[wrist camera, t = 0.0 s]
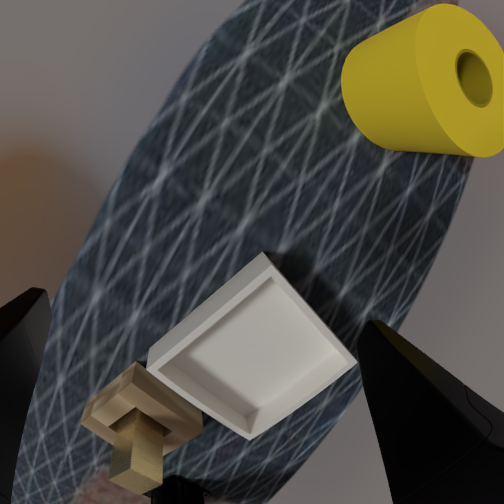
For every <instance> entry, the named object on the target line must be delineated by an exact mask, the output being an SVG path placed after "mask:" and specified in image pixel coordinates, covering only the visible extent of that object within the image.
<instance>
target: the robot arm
mask: <svg viewBox="0 0 504 504" xmlns="http://www.w3.org/2000/svg"><path fill="white" fill-rule="evenodd" d="M51 318H52V313H51V308H50V304H49V299H48V294H47V291H46V290H45V289H42V288H36V287H32V288H30V289H28V290H27V291H25V292H24V293H22V294H21V295H19V296H18V297H16V298H15V299H13V300H12V301H10V302H8V303H7V304H6V305H4V306H3V307H1V308H0V504H11V496H12V488H13V481H14V475H15V469H16V463H17V458H18V453H19V448H20V443H21V438H22V434H23V429H24V425H25V421H26V417H27V413H28V409H29V405H30V402H31V398H32V395H33V391H34V388H35V384H36V381H37V378H38V374H39V371H40V367H41V363H42V358H43V353H44V349H45V344H46V340H47V336H48V332H49V328H50V324H51ZM356 351H357V356H358V361H359V367H360V372H361V377H362V383H363V387H364V392H365V395H366V399H367V402H368V406H369V410H370V413H371V417H372V421H373V424H374V428H375V432H376V435H377V439H378V443H379V447H380V451H381V455H382V459H383V463H384V467H385V471H386V475H387V479H388V483H389V488H390V492H391V497H392V501H393V504H504V412H502V411H501V410H499V409H498V408H496V407H495V406H493V405H492V404H490V403H489V402H488V401H486V400H485V399H483V398H482V397H481V396H479V395H478V394H477V393H475V392H474V391H473V390H471V389H470V388H469V387H468V386H466V385H464V384H463V383H462V382H461V381H460V380H458V379H457V378H456V377H454V376H453V375H452V374H451V373H449V372H448V371H447V370H445V369H444V368H443V367H442V366H440V365H439V364H438V363H436V362H435V361H434V360H432V359H431V358H430V357H428V356H427V355H426V354H425V353H423V352H422V351H421V350H419V349H418V348H417V347H415V346H414V345H413V344H411V343H410V342H409V341H407V340H406V339H405V338H403V337H402V336H401V335H399V334H398V333H397V332H395V331H394V330H393V329H391V328H390V327H389V326H387V325H386V324H385V323H383V322H382V321H380V320H368V321H367V322H366V323H365V325H364V327H363V329H362V330H361V332H360V334H359V336H358V338H357V340H356ZM143 495H145V496H147V497H149V498H151V504H204V498H206V497H209V496H210V492H209V491H206V490H204V489H202V488H199V487H197V486H195V485H193V484H190V483H188V482H186V481H184V480H182V479H180V478H178V477H175V476H170V477H168V478H166V479H164V480H162V485H160V486H158V487H156V488H154V489H152V490H150V491H148V492H145V493H143Z"/></svg>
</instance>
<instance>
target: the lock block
mask: <svg viewBox="0 0 504 504" xmlns="http://www.w3.org/2000/svg"><path fill="white" fill-rule="evenodd" d="M135 407H136V408H138V409H139V410H141V411H142V412H144V413H145V414H147V415H148V416H150V417H151V418H153V419H154V420H156V421H157V422H159V423H160V424H162V425H163V426H164V428H163V456H164V455H166V454H167V453H169V452H171V451H173V450H174V449H176V448H178V447H179V446H181V445H183V444H184V443H186V442H188V441H189V440H191V439H193V438H194V437H196V436H197V435H199V434H201V433H202V432H203V422H202V410H201V409H199V408H198V407H196V406H195V405H193V404H192V403H190V402H189V401H188V400H186V399H185V398H183V397H182V396H180V395H179V394H178V393H176V392H175V391H174V390H172V389H171V388H169V387H168V386H167V385H165V384H164V383H163V382H161V381H160V380H159V379H157V378H156V377H155V376H153V375H152V374H151V373H150V372H148V371H147V370H146V369H145V368H144V367H143V366H142V365H140V364H139V363H138V362H137V361H135V362H134V363H133V364H132V365H131V366H130V367H128V368H127V369H126V370H125V371H124V372H122V373H121V374H120V375H119V376H118V377H117V378H115V379H114V380H113V381H112V382H111V383H109V384H108V385H107V386H106V387H105V388H103V389H102V390H101V391H100V392H99V393H97V394H96V395H95V396H94V397H93V398H92V399H90V400H89V401H88V402H87V403H86V406H85V410H84V413H83V416H82V419H81V423H80V424H82V425H83V426H85V427H86V428H88V429H89V430H91V431H92V432H94V433H95V434H97V435H98V436H100V437H101V438H103V439H104V440H106V441H107V442H109V443H111V444H112V445H114V440H115V435H116V429H117V424H118V419H119V418H121V417H122V416H124V415H125V414H126V413H128V412H129V411H130V410H132V409H133V408H135Z"/></svg>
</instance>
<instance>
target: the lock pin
mask: <svg viewBox="0 0 504 504" xmlns="http://www.w3.org/2000/svg"><path fill="white" fill-rule="evenodd" d="M163 428H164V426H163V425H162V424H160V423H159V422H157V421H156V420H154V419H153V418H151V417H150V416H148V415H147V414H145V413H144V412H142V411H141V410H139V409H138V408H136V407H135V408H133V409H132V410H130V411H129V412H128V413H126V414H125V415H124V416H122V417H121V418H119V419H118V424H117V429H116V435H115V440H114V446H113V452H112V458H111V465H110V471H109V478H108V480H110V481H111V482H113V483H115V484H117V485H119V486H121V487H123V488H125V489H127V490H129V491H131V492H133V493H136V494H138V495H141V494H143V493H145V492H148V491H150V490H152V489H154V488H156V487H158V486H160V485H162V475H163Z"/></svg>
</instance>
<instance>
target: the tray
mask: <svg viewBox="0 0 504 504" xmlns="http://www.w3.org/2000/svg"><path fill="white" fill-rule="evenodd" d="M356 363H357V361H356V359H355V358H354V357H353V356H352V354H351V353H350V352H349V350H348V349H347V348H346V347H345V345H344V344H343V343H342V342H341V341H340V339H339V338H338V337H337V336H336V335H335V334H334V333H333V331H332V330H331V329H330V328H329V327H328V326H327V324H326V323H325V322H324V321H323V320H322V319H321V318H320V316H319V315H318V314H317V313H316V312H315V311H314V310H313V308H312V307H311V306H310V305H309V304H308V303H307V302H306V300H305V299H304V298H303V297H302V296H301V295H300V294H299V292H298V291H297V290H296V289H295V288H294V287H293V286H292V284H291V283H290V282H289V281H288V280H287V279H286V278H285V276H284V275H283V274H282V273H281V272H280V271H279V270H278V269H277V267H276V266H275V265H274V264H273V263H272V262H271V261H270V259H269V258H268V257H267V256H266V255H265V254H264V253H263V252H261V253H260V254H259V255H258V256H257V257H256V258H254V259H253V260H252V261H251V262H250V263H249V264H247V265H246V266H245V267H244V268H243V269H242V270H240V271H239V272H238V273H237V274H236V275H235V276H233V277H232V278H231V279H230V280H229V281H228V282H226V283H225V284H224V285H223V286H222V287H221V288H219V289H218V290H217V291H216V292H215V293H214V294H212V295H211V296H210V297H209V298H208V299H207V300H205V301H204V302H203V303H202V304H201V305H200V306H198V307H197V308H196V309H195V310H194V311H193V312H191V313H190V314H189V315H188V316H187V317H186V318H184V319H183V320H182V321H181V322H180V323H178V324H177V325H176V326H175V327H174V328H173V329H171V330H170V331H169V332H168V333H167V334H166V335H164V336H163V337H162V338H161V339H160V340H159V341H157V342H156V343H155V344H154V345H153V346H151V347H150V348H149V354H148V360H147V366H146V370H147V371H148V372H150V373H151V374H152V375H153V376H155V377H156V378H157V379H159V380H160V381H161V382H163V383H164V384H165V385H167V386H168V387H169V388H171V389H172V390H174V391H175V392H176V393H178V394H179V395H180V396H182V397H183V398H185V399H186V400H188V401H189V402H190V403H192V404H193V405H195V406H196V407H198V408H199V409H201V410H202V411H204V412H205V413H207V414H208V415H210V416H211V417H213V418H214V419H216V420H217V421H219V422H220V423H222V424H224V425H225V426H227V427H228V428H230V429H232V430H233V431H235V432H236V433H238V434H240V435H241V436H243V437H245V438H246V439H248V440H251V439H253V438H254V437H256V436H257V435H259V434H261V433H262V432H264V431H265V430H267V429H268V428H270V427H271V426H273V425H274V424H276V423H277V422H279V421H280V420H282V419H283V418H285V417H286V416H288V415H289V414H290V413H292V412H293V411H295V410H296V409H298V408H299V407H300V406H302V405H303V404H305V403H306V402H307V401H309V400H310V399H311V398H313V397H314V396H315V395H317V394H318V393H319V392H321V391H322V390H323V389H325V388H326V387H327V386H329V385H330V384H331V383H333V382H334V381H335V380H336V379H338V378H339V377H340V376H341V375H343V374H344V373H345V372H346V371H348V370H349V369H350V368H351V367H353V366H354V365H355V364H356Z"/></svg>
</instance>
